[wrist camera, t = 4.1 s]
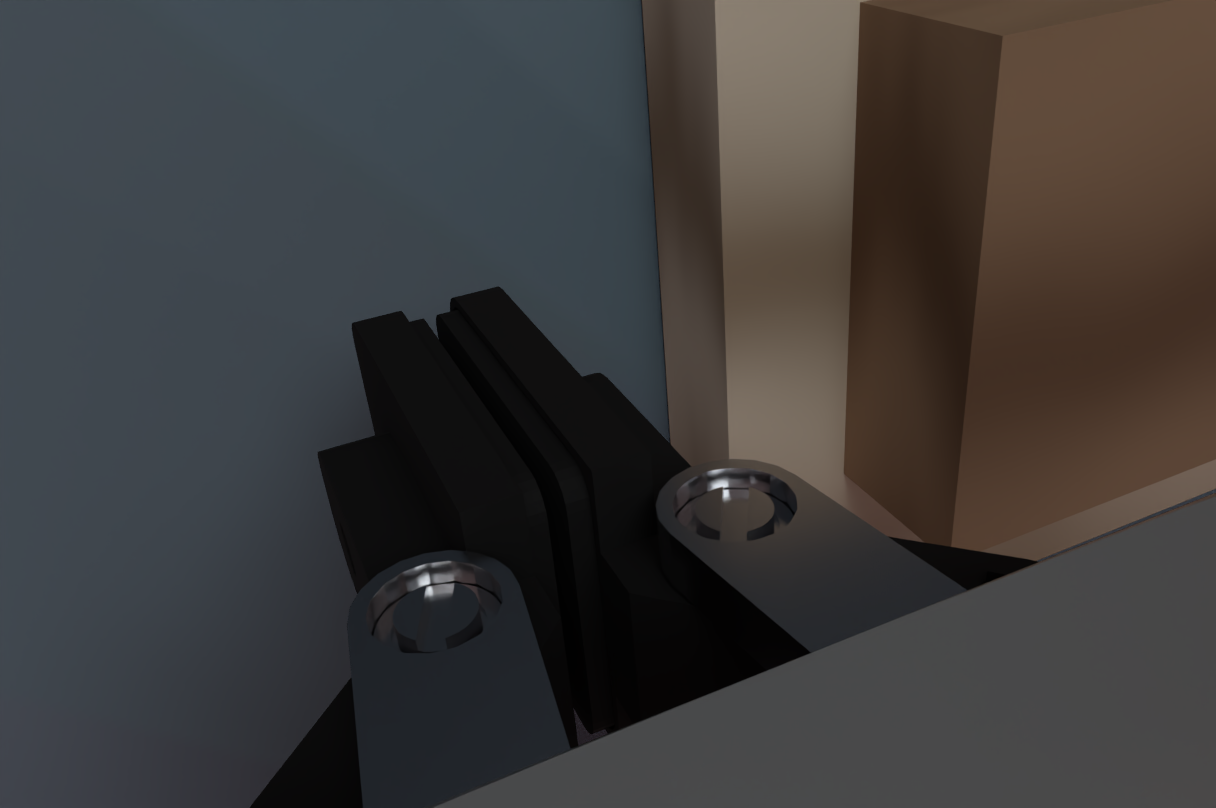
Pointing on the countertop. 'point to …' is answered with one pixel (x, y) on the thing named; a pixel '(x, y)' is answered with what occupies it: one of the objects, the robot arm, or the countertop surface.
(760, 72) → the ash deck
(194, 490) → the countertop surface
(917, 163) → the walnut tile
